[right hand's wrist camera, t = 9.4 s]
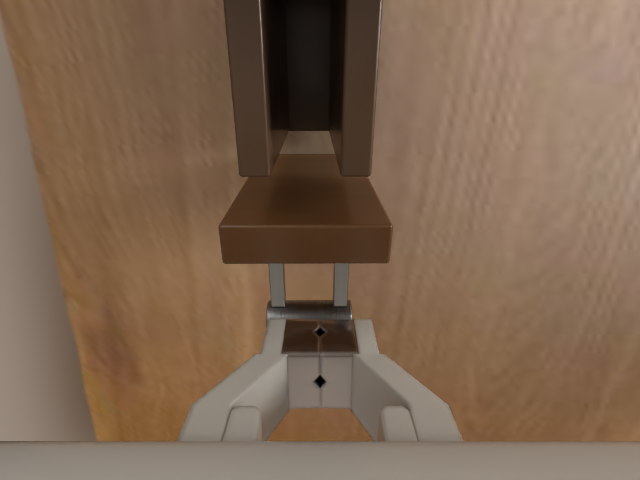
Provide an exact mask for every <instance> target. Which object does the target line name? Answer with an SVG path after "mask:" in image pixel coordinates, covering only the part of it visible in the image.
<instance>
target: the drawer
mask: <svg viewBox="0 0 640 480" xmlns="http://www.w3.org/2000/svg"><path fill="white" fill-rule="evenodd" d="M223 1H224V12H225V23H226V34H227V45H228V55H229V66H230V77H231V88H232V99H233V110H234V121H235V132H236V143H237V153H238V164H239V174H240V176H242V177H249V178H248V179H247V181H246V182H245V184H244V186H243V187H242V189H241V191H240V192H239V194H238V195H237V197H236V199H235V200H234V202H233V204H232V205H231V207H230V208H229V210H228V212H227V213H226V215H225V217H224V218H223V220H222V221H221V223H220V225H219V235H220V244H221V252H222V260H223V263H225V264H269V279H270V295H271V301H268V304H267V312H266V329H267V324H268V321H269V320H270V319H320V320H345V319H352V307H351V302H350V300H347V298H348V275H349V263H388V262H389V260H390V251H391V241H392V231H393V226H392V224H391V222H390V220H389V218H388V216H387V214H386V212H385V210H384V208H383V206H382V204H381V202H380V200H379V198H378V196H377V194H376V192H375V190H374V189H373V187H372V185H371V183H370V181H369V179H368V176H370V175H371V168H372V153H373V138H374V122H375V107H376V92H377V77H378V62H379V47H380V31H381V16H382V1H383V0H223ZM289 131H329V132H330V136H331V140H332V144H333V147H334V151H335V154H279V153H280V151H281V148H282V146H283V143H284V141H285V139H286V136H287V134H288V132H289ZM284 263H334V274H333V300H286V293H285V269H284Z"/></svg>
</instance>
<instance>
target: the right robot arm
mask: <svg viewBox="0 0 640 480" xmlns="http://www.w3.org/2000/svg"><path fill="white" fill-rule="evenodd" d="M292 408H348V409H351V411H352V412H353V414H354V415H355V416H356V418H357V419H358V420H359V422H360V423H361V424H362V426H363V427H364V428H365V430H366V431H367V432H368V434H369V435H370V436H371V438H372V439H373V440H374V441H267V439H268V438H269V437H270V435H271V434H272V433H273V431H274V430H275V429H276V427H277V426H278V425H279V423H280V422H281V421H282V419H283V418H284V417H285V415H286V414H287V413H288V411H289V409H292ZM0 480H640V441H463V440H462V437H461V435H460V432H459V430H458V428H457V425H456V423H455V420H454V418H453V415H452V413H451V411H450V408H449V406H448V404H446V403H445V402H444V401H443V400H441V399H440V398H439V397H438V396H436V395H435V394H434V393H433V392H431V391H430V390H429V389H428V388H426V387H425V386H424V385H423V384H421V383H420V382H419V381H418V380H416V379H415V378H414V377H413V376H411V375H410V374H409V373H408V372H406V371H405V370H404V369H403V368H401V367H400V366H399V365H398V364H396V363H395V362H394V361H393V360H391V359H390V358H389V357H387V356H386V355H385V354H379V350H378V346H377V342H376V338H375V333H374V329H373V325H372V321H371V319H370V318H369V319H345V320H320V319H270V320H269V321H268V324H267V329H266V333H265V337H264V342H263V346H262V350H261V354H255V355H254V356H253V357H251V358H250V359H249V360H247V361H246V362H245V363H244V364H242V365H241V366H240V367H239V368H237V369H236V370H235V371H234V372H232V373H231V374H230V375H229V376H227V377H226V378H225V379H224V380H222V381H221V382H220V383H219V384H217V385H216V386H215V387H213V388H212V389H211V390H210V391H208V392H207V393H206V394H205V395H203V396H202V397H201V398H200V399H198V400H197V401H196V402H195V403H193V404H192V406H191V409H190V411H189V413H188V416H187V418H186V421H185V423H184V425H183V428H182V430H181V432H180V435H179V437H178V440H177V441H0Z"/></svg>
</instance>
